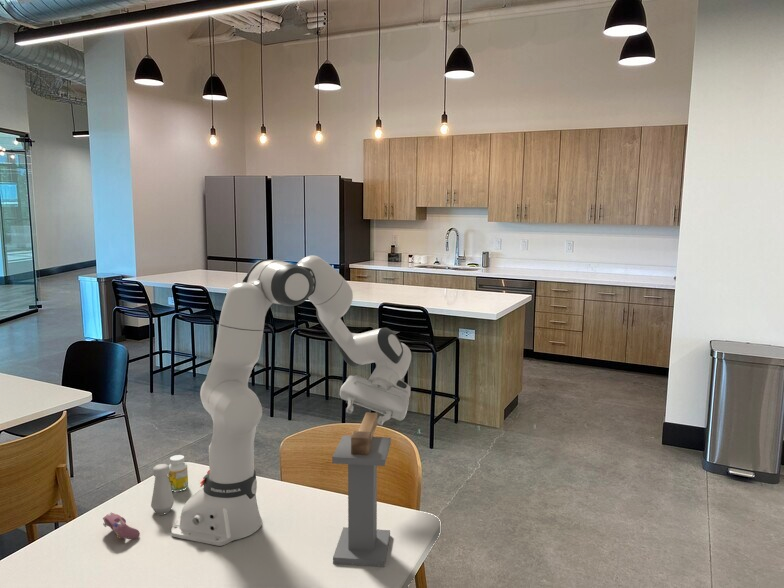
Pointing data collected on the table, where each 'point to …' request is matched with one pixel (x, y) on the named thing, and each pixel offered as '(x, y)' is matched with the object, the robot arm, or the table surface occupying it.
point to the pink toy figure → (120, 526)
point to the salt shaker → (162, 490)
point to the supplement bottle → (178, 473)
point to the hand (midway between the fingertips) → (363, 417)
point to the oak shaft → (364, 435)
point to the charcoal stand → (362, 505)
